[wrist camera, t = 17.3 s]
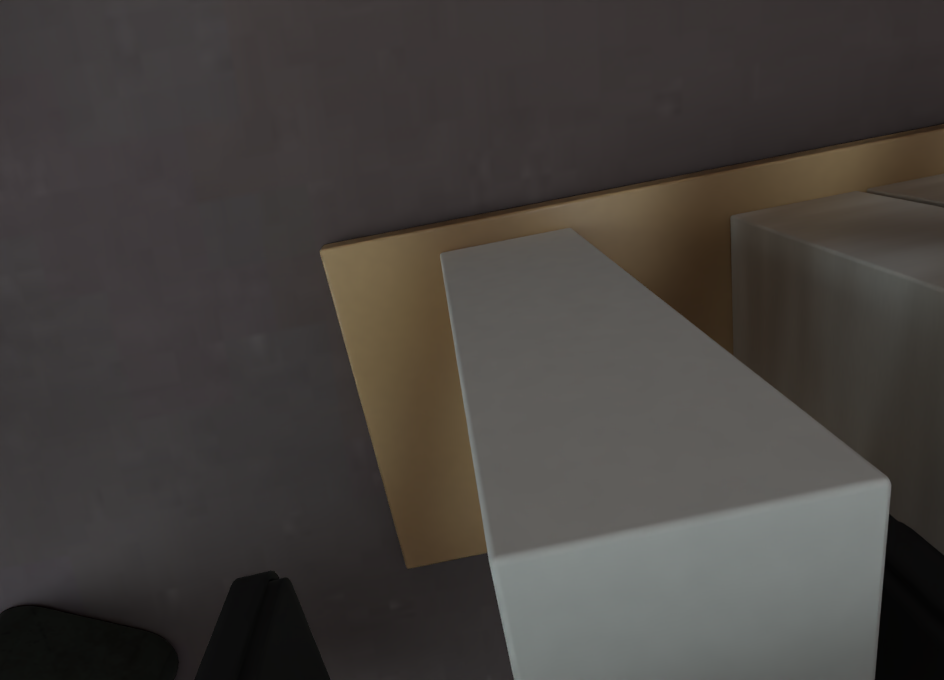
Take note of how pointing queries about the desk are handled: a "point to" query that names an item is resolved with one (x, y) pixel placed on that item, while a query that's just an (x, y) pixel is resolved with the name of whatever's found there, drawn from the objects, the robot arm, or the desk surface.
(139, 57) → the desk surface
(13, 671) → the candle
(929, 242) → the wooden stand
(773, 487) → the white rectangular block
